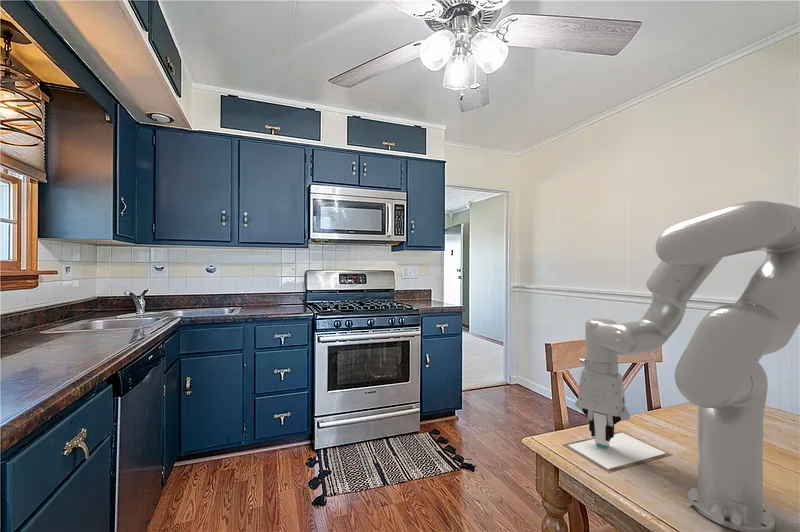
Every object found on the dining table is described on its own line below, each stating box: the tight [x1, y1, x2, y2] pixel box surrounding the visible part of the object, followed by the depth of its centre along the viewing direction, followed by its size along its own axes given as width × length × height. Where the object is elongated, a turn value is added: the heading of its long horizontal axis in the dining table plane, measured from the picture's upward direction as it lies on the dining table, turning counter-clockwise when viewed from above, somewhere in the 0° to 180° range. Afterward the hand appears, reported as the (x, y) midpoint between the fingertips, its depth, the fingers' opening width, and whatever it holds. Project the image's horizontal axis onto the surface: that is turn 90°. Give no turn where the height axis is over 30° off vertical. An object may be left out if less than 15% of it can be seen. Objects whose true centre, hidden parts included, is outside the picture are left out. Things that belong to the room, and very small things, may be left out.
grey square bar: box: [593, 411, 610, 449], centre depth 95 cm, size 3×3×11 cm
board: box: [562, 430, 673, 474], centre depth 94 cm, size 22×14×1 cm, turn 111°
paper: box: [568, 432, 666, 470], centre depth 94 cm, size 20×12×1 cm, turn 111°
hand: (601, 436), depth 95 cm, fingers closed on grey square bar, 2 cm apart
